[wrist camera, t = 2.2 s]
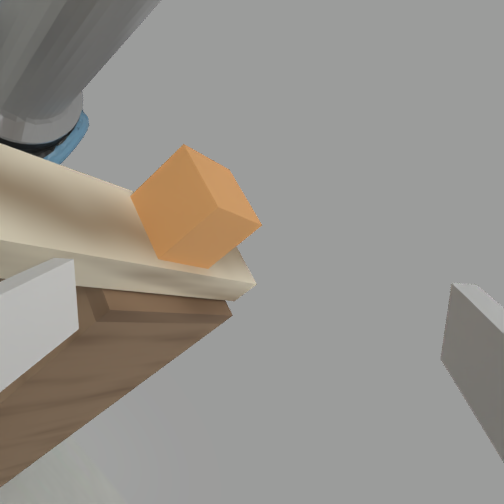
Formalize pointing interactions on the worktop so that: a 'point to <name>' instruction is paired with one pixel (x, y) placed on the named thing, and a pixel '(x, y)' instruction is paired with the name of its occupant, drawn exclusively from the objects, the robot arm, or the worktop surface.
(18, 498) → the worktop surface
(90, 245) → the slat
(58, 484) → the worktop surface
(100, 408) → the stand
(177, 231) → the cube
